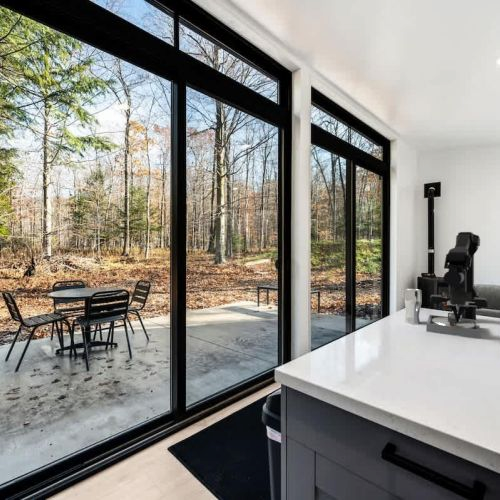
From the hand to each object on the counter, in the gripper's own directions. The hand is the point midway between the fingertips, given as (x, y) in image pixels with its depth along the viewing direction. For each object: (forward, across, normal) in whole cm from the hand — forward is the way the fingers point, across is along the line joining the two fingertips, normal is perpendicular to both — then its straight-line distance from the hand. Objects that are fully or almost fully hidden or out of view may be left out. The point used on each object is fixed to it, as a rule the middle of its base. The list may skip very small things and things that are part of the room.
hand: (457, 322), depth 126 cm
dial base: (+5, -2, +8) cm, 9 cm away
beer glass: (+5, -17, +12) cm, 21 cm away
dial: (+3, -2, +7) cm, 8 cm away
